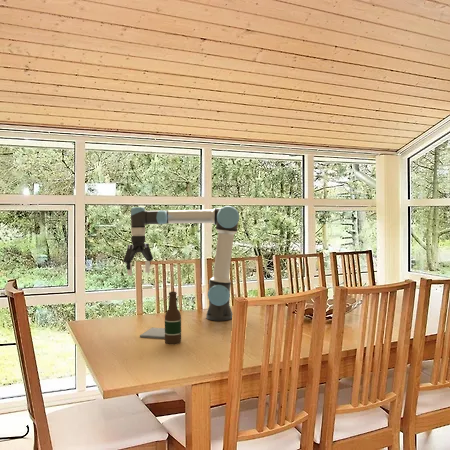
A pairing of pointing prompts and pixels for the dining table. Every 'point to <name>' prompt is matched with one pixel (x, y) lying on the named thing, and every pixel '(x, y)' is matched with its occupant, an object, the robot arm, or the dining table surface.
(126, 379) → the dining table surface
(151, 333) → the slate trivet
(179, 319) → the beer bottle
